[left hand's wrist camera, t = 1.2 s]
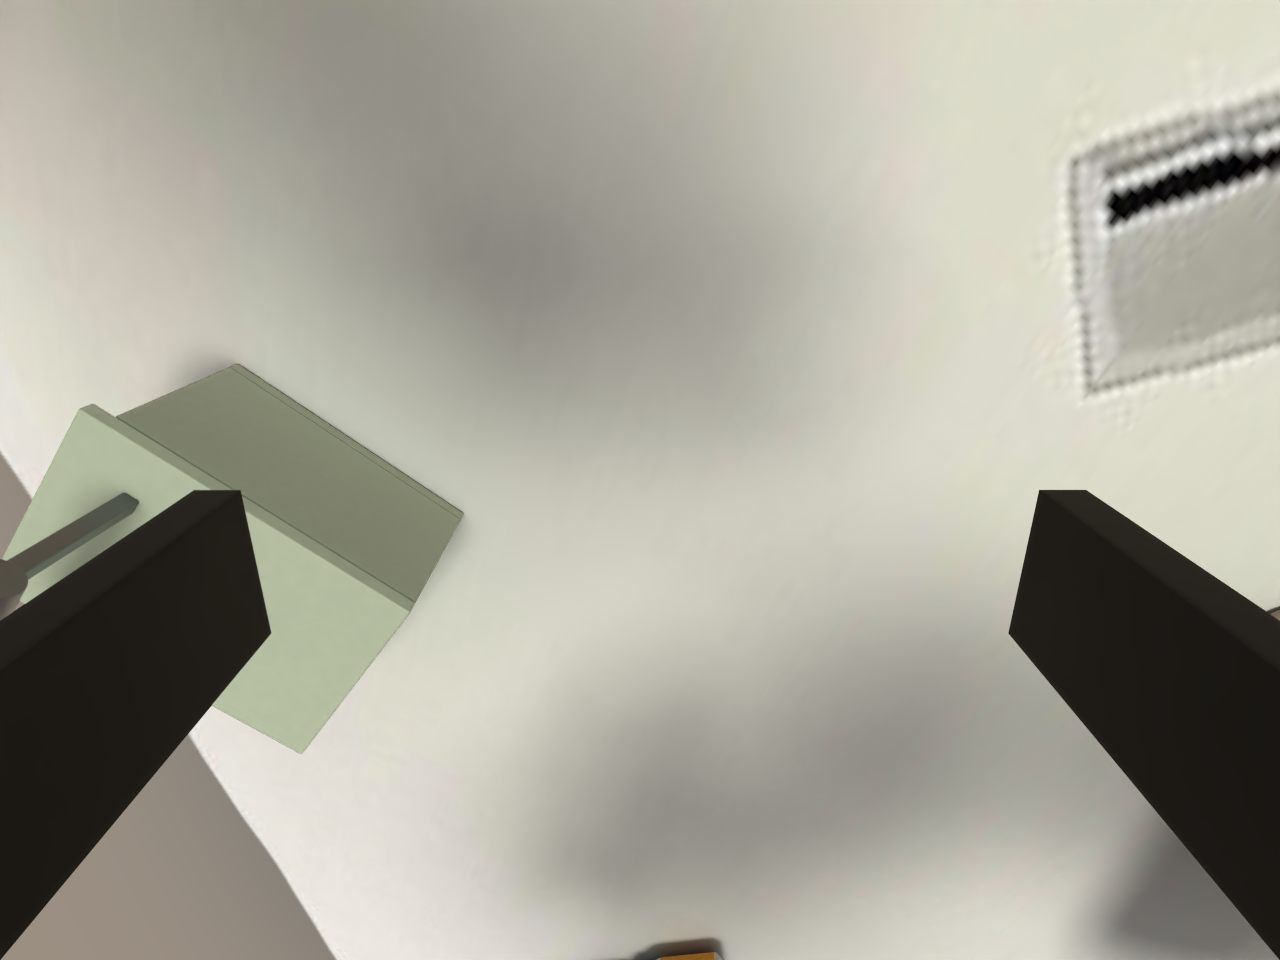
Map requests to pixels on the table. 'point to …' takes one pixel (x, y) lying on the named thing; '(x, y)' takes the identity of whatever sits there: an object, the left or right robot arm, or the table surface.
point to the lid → (286, 560)
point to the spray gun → (694, 957)
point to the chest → (304, 474)
